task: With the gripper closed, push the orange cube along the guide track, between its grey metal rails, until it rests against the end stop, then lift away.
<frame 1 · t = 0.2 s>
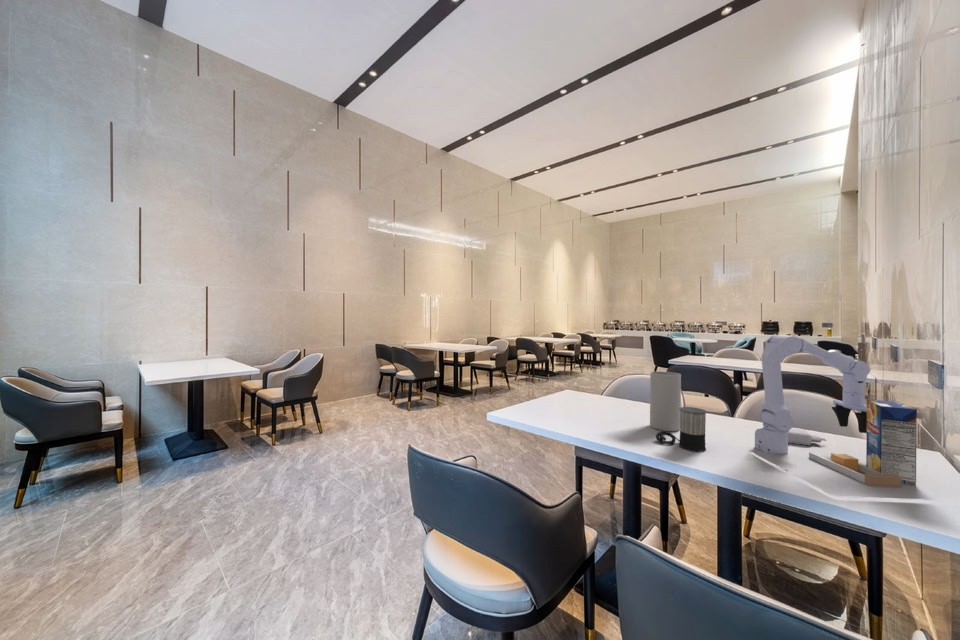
hand: (853, 429, 135), 10 cm above the table, tool pointing down, fingers open, 7 cm apart
blue food box: (889, 480, 116), on the table, touching track
track: (850, 474, 119), on the table
orange cube: (844, 468, 121), point 1 cm above the table, touching track
cylinder vase: (664, 428, 169), on the table
charger: (801, 443, 150), on the table
milk frother: (680, 446, 145), on the table
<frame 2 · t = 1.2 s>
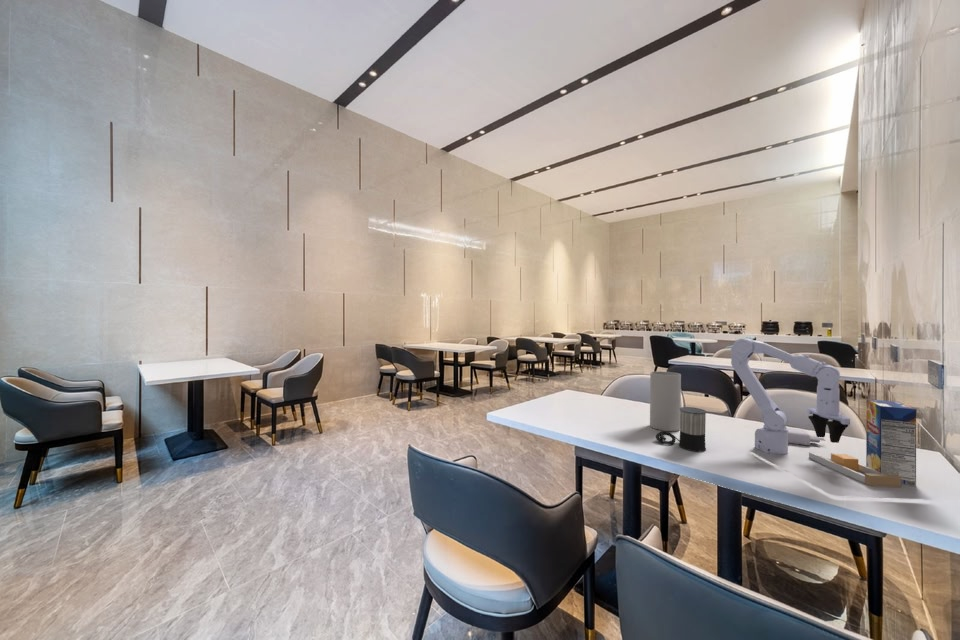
hand: (827, 439, 127), 8 cm above the table, tool pointing down, fingers open, 5 cm apart
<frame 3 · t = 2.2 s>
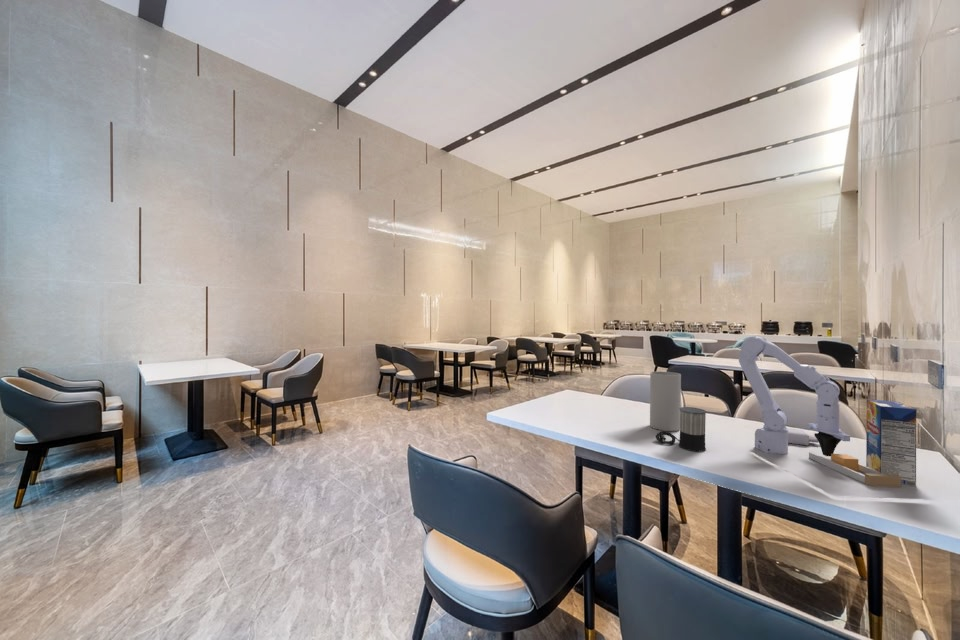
hand: (827, 455, 127), 3 cm above the table, tool pointing down, fingers closed
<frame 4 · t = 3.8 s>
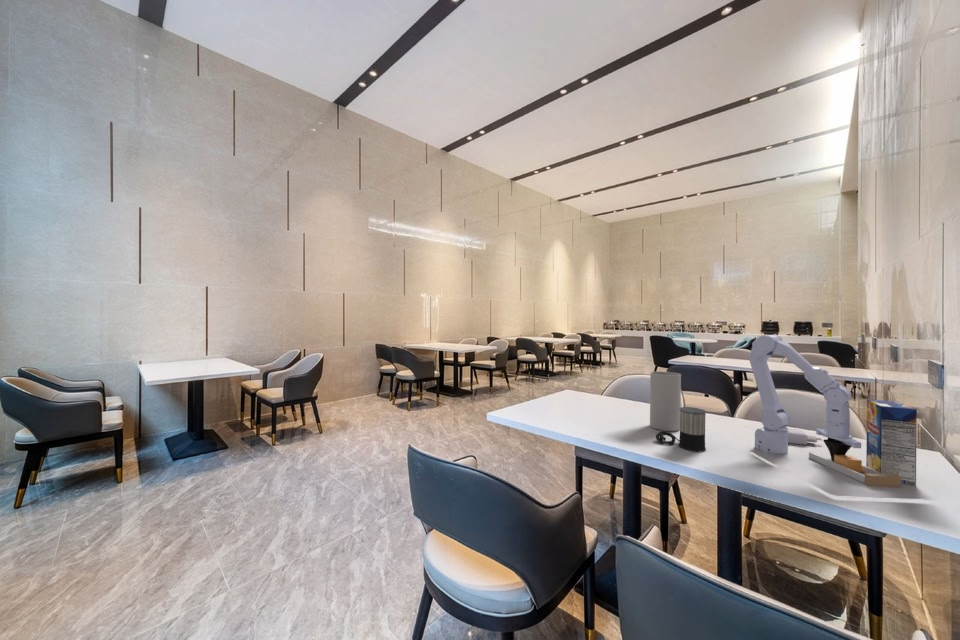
hand: (837, 462, 124), 2 cm above the table, tool pointing down, fingers closed
orange cube: (847, 469, 120), point 1 cm above the table, touching gripper
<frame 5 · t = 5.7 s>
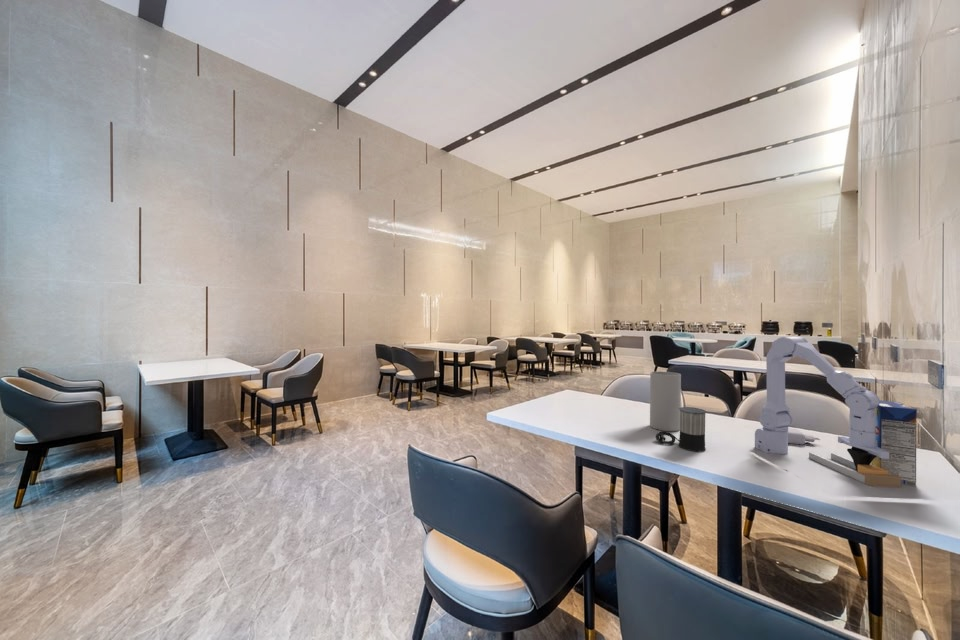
hand: (861, 473, 115), 2 cm above the table, tool pointing down, fingers closed
blue food box: (889, 480, 115), on the table, touching arm, track
orange cube: (872, 480, 112), point 1 cm above the table, touching gripper, track
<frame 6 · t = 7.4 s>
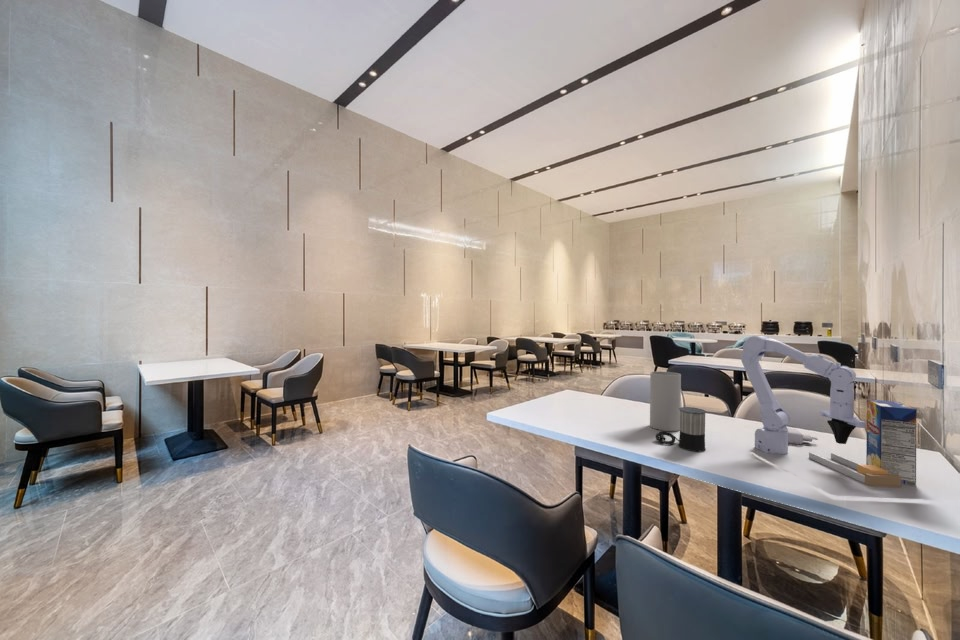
hand: (841, 443, 123), 9 cm above the table, tool pointing down, fingers closed
blue food box: (889, 480, 116), on the table, touching track
orange cube: (872, 480, 112), point 1 cm above the table, touching track
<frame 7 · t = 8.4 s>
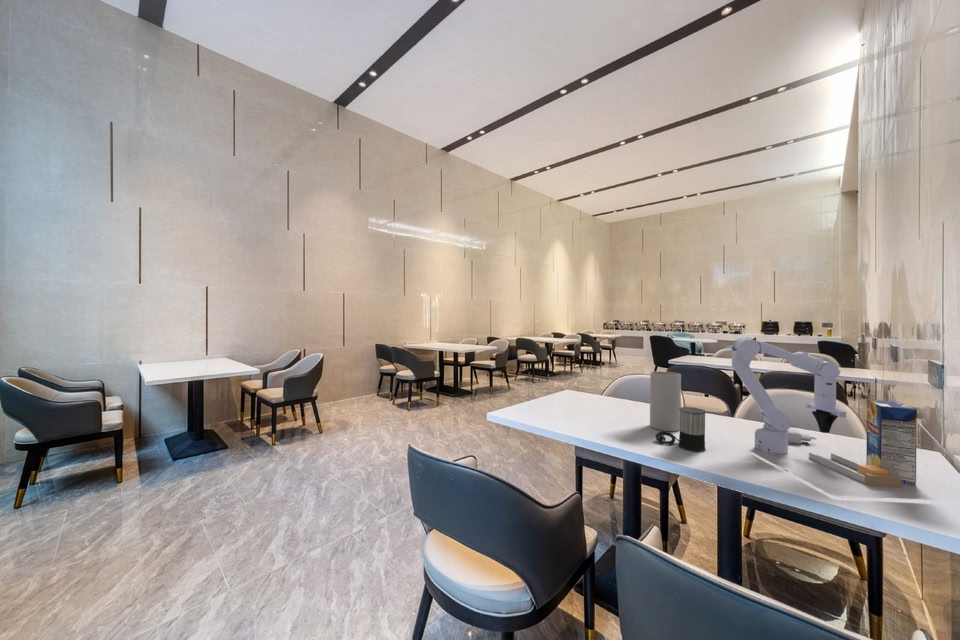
hand: (824, 432, 133), 9 cm above the table, tool pointing down, fingers closed
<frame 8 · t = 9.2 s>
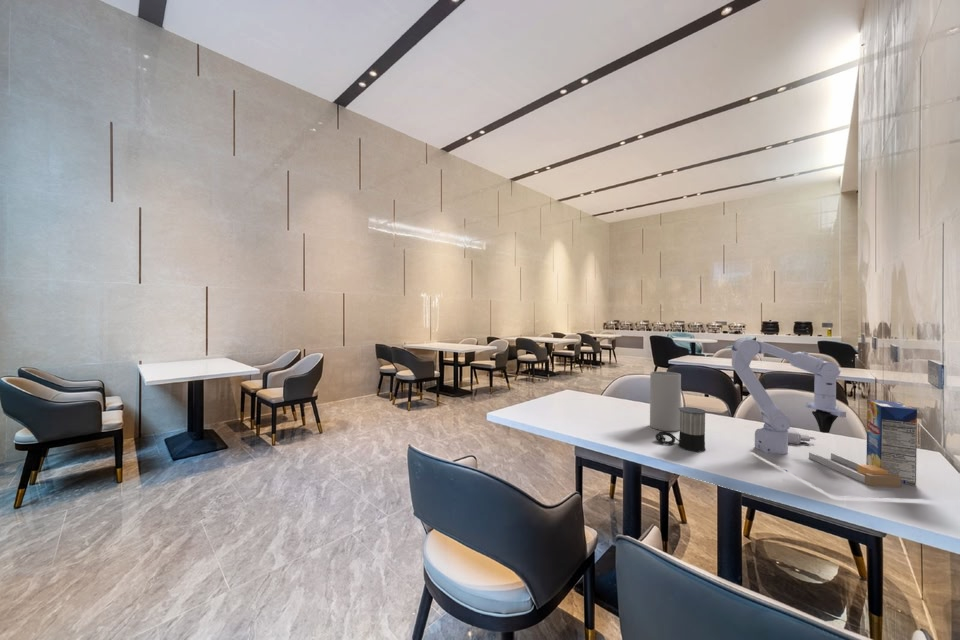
hand: (824, 432, 133), 9 cm above the table, tool pointing down, fingers closed
at the end: orange cube 0.2 cm from the target spot on the track, point 1.0 cm above the track's base; orange cube tilted 0°; orange cube moved 9.3 cm from its start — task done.
